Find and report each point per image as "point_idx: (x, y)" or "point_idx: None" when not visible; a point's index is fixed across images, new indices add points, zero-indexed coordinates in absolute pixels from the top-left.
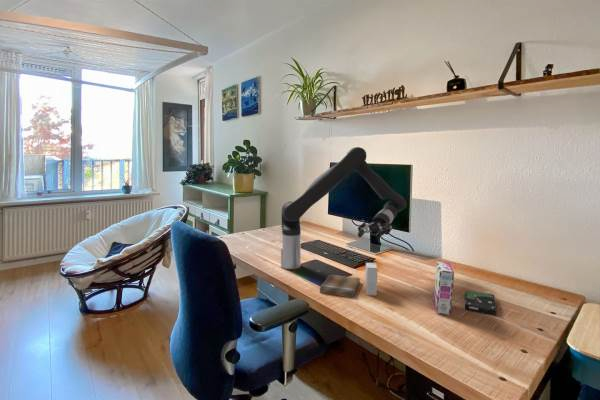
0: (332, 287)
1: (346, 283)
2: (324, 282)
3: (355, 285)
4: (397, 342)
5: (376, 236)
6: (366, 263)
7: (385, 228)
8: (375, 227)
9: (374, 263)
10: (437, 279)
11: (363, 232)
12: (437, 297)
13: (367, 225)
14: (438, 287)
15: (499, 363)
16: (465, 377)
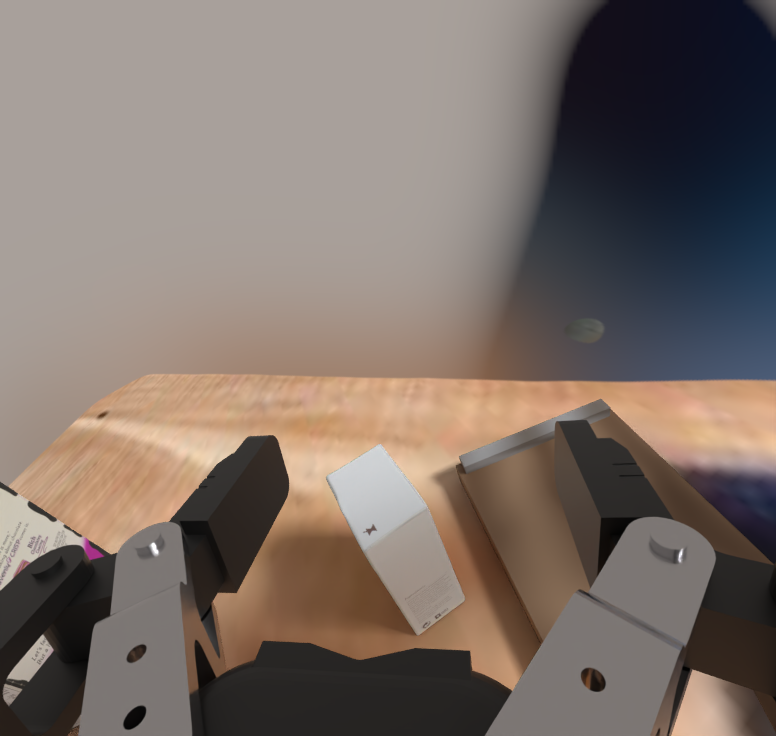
0: (548, 420)
1: (557, 528)
2: (655, 457)
3: (499, 540)
4: (265, 380)
5: (275, 453)
6: (415, 493)
7: (45, 593)
8: (294, 664)
9: (365, 532)
10: (21, 552)
11: (594, 571)
12: (92, 551)
13: (591, 663)
14: (56, 524)
15: (82, 448)
16: (161, 382)
